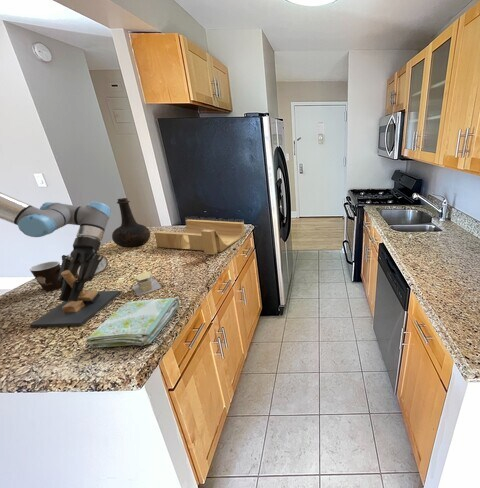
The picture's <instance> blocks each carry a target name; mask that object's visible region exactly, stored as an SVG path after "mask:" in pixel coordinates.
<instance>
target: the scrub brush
mask: <svg viewBox="0 0 480 488" xmlns="http://www.w3.org/2000/svg"><path fill="white" fill-rule="evenodd" d="M61 275H62V276H63V278H64V279H65V280H66V281H67V283H68V284H69V285H70V287H71V288H73V285H74V282H78V281H76V280H77V279H76V278H75V277H74V276H73V275H72V273H71V272H70V271H69V270H66V271H63V272H62V273H61ZM97 291H98V290H97V289H84V288H83V290H82V291H80V294H79V297H78V300H83V302H84V304H89V303H94V302H95V301H96V300H97V299H98V298H99V296H100V294H99V293H98V292H97ZM68 301H69V302H70V301H71V300H68Z"/></svg>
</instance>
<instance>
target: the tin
mask: <svg viewBox="0 0 480 488" xmlns="http://www.w3.org/2000/svg"><path fill="white" fill-rule="evenodd" d="M100 255H101V256H103V259H102V260H101V261H100V263H99V265H98V268H97V270H96V272H95V274H94V276H96V275H98V274H100V273H102V272H103V271H105V270H106V269H107V267H108V258H107V257H106V256H105V255H102V254H100ZM79 270H80V266H79V269H78V271H77V273H76V275H75V279H76V280H77V279H78V275H79Z"/></svg>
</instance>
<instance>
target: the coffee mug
mask: <svg viewBox="0 0 480 488" xmlns="http://www.w3.org/2000/svg"><path fill="white" fill-rule="evenodd" d="M60 269H61V264H60V262H59V261H46V262H42V263H38V264H35V265H34V266H31V267H30V268H29V271H30V273H31V274H32V275H33V277H34V278H35V280H36V281H37V283H38V284H39V285H40V287H41V288H42V290H43V291H44V292H52V291H55V290H59V289H61V288H62V285H63V281H60V280H58V277H59V273H60Z"/></svg>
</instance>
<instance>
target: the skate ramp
mask: <svg viewBox="0 0 480 488" xmlns="http://www.w3.org/2000/svg"><path fill="white" fill-rule="evenodd" d="M184 218H185V230H184V231H182V232H181V230H179V229H178V230H177V231H171V230H168V229H161V230H156V229H153V232H154V239H155V242H156V245H157V246H156V247H157V248H166V249H167V248H168V249H178V250H179V249H181V250H194V251H203V252H204V256H205V258H206V257H207V256H210V255H211V256H213V258H214V259H215V258H216V256H217V257H218V256H219V255H218V254H219V253H221V252H223V251H224V250H226V249H227V248H229V247H230V246H232V245H233V244H235V243H236V242H238V241H239V240H240V239H242V238H244V237H245V236H246V231H245V223H244V219H242V221H241V220H240V219H236V218H235V220H234V221H232V219H229V221H226V220H222V218H219V220H215V218H211V217H208V219H204V217H202V216H201V219H197V217H194V219H193V217H190V218H187V217H184ZM238 221H239V222H238ZM218 252H219V253H218ZM215 254H216V255H215Z"/></svg>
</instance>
